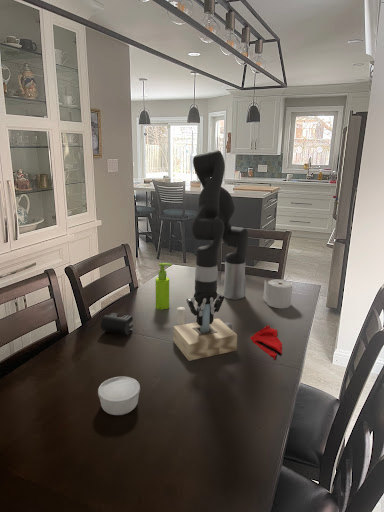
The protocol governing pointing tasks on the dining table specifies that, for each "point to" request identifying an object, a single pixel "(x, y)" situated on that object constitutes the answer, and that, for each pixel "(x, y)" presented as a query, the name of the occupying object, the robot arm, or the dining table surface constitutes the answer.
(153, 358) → the dining table surface
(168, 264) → the soap dispenser
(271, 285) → the toilet tissue
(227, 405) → the dining table surface
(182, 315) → the medium pin
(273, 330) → the cloth
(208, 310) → the long pin
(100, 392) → the ramekin
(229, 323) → the short pin
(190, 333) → the hole block
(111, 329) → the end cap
